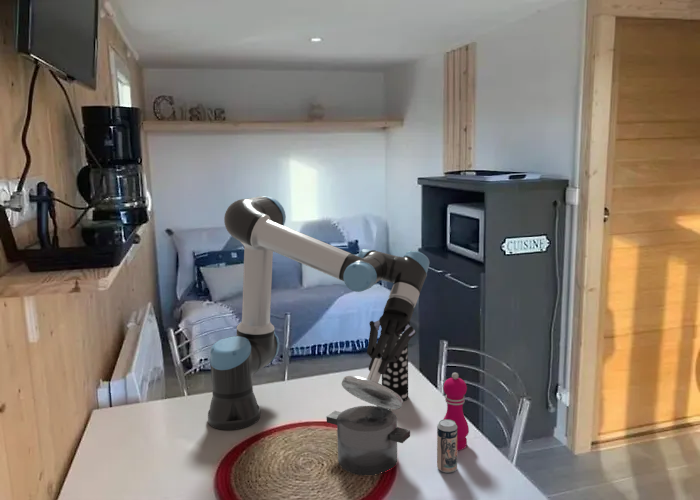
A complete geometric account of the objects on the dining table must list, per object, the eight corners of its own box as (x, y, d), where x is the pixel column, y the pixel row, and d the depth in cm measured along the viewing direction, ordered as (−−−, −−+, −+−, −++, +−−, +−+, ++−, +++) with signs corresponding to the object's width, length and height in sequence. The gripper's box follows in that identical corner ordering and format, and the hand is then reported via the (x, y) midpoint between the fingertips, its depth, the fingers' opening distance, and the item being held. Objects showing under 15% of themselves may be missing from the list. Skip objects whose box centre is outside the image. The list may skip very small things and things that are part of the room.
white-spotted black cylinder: (409, 402, 179) (409, 340, 176) (382, 402, 179) (381, 341, 176) (407, 391, 187) (406, 332, 184) (381, 392, 187) (380, 332, 184)
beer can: (444, 476, 138) (444, 429, 136) (433, 466, 142) (433, 420, 140) (460, 471, 140) (461, 424, 138) (450, 462, 144) (450, 416, 142)
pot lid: (331, 375, 144) (335, 365, 145) (357, 402, 156) (361, 392, 157) (387, 388, 135) (391, 377, 136) (411, 415, 147) (414, 405, 148)
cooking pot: (315, 461, 146) (313, 420, 144) (347, 436, 158) (346, 398, 156) (391, 486, 134) (391, 442, 132) (420, 457, 146) (419, 416, 145)
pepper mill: (468, 452, 148) (469, 378, 145) (440, 450, 150) (440, 377, 146) (468, 439, 155) (469, 368, 152) (441, 437, 157) (441, 367, 153)
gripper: (428, 313, 153) (400, 395, 142) (384, 308, 160) (354, 386, 149) (419, 298, 148) (389, 382, 136) (374, 293, 155) (342, 373, 143)
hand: (371, 384), depth 142 cm, fingers closed
